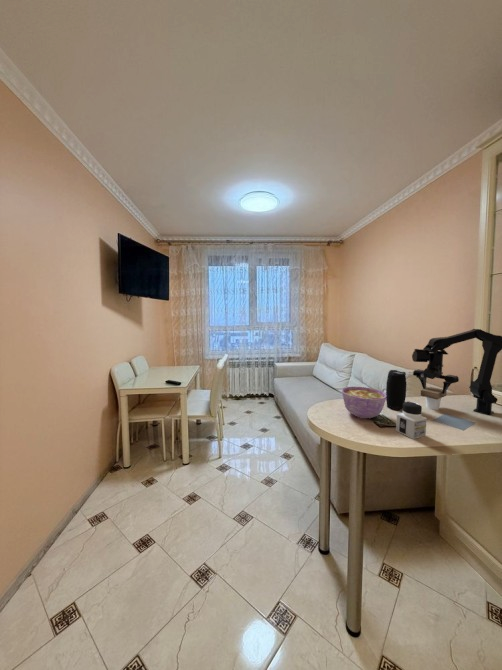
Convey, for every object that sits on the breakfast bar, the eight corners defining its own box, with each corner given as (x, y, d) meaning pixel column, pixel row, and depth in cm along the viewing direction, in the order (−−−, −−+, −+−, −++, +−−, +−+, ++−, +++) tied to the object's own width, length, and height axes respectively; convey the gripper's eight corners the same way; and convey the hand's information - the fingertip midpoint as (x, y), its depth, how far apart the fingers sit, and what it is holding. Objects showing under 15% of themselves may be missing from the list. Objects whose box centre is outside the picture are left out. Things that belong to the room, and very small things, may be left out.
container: (413, 439, 100) (415, 407, 99) (395, 431, 107) (397, 401, 106) (426, 435, 103) (428, 405, 102) (407, 428, 110) (409, 399, 109)
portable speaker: (408, 408, 132) (410, 372, 130) (397, 412, 128) (400, 374, 126) (392, 403, 140) (394, 368, 138) (381, 406, 135) (383, 370, 133)
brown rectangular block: (430, 392, 138) (430, 386, 138) (446, 395, 132) (446, 390, 132) (420, 395, 132) (420, 389, 132) (436, 399, 126) (437, 393, 126)
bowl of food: (360, 405, 137) (361, 384, 136) (395, 419, 119) (396, 395, 118) (332, 411, 128) (333, 389, 127) (365, 427, 110) (366, 401, 109)
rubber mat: (445, 414, 125) (445, 413, 125) (476, 423, 115) (476, 422, 115) (431, 421, 117) (431, 420, 117) (463, 431, 107) (463, 430, 107)
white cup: (435, 406, 136) (436, 393, 135) (443, 411, 129) (444, 398, 129) (421, 405, 137) (422, 393, 136) (429, 410, 130) (430, 397, 129)
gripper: (408, 361, 134) (407, 389, 136) (450, 367, 119) (448, 399, 120) (418, 359, 140) (417, 386, 142) (460, 365, 125) (457, 395, 126)
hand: (433, 391), depth 132 cm, fingers open, 8 cm apart
